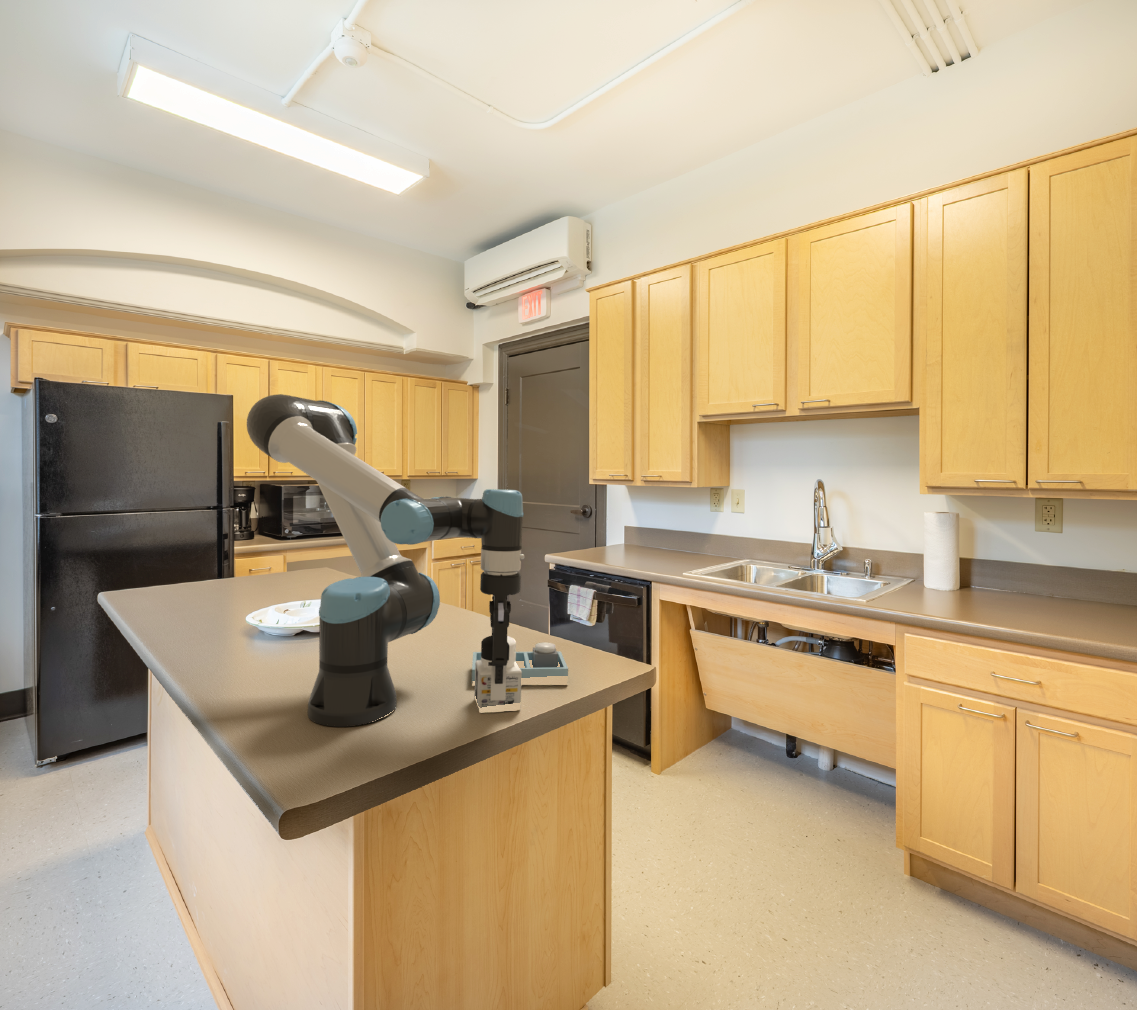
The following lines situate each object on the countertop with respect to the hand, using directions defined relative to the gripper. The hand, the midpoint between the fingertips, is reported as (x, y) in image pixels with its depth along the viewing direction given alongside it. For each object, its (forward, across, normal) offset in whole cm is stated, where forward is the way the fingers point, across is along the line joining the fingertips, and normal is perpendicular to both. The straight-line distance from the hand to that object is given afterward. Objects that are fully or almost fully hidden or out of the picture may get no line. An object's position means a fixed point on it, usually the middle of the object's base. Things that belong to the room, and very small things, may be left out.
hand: (497, 690), depth 113 cm
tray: (+3, +16, -5) cm, 17 cm away
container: (+3, 0, 0) cm, 3 cm away
